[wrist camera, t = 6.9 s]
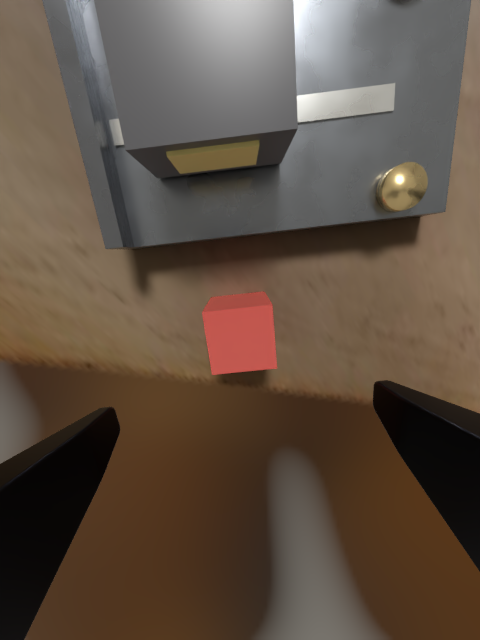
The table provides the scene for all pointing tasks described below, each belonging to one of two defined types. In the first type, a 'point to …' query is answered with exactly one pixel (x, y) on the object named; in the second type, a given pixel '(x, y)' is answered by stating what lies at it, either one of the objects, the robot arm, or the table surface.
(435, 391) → the table surface
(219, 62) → the block
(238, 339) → the cap
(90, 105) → the breaker panel
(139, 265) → the table surface
